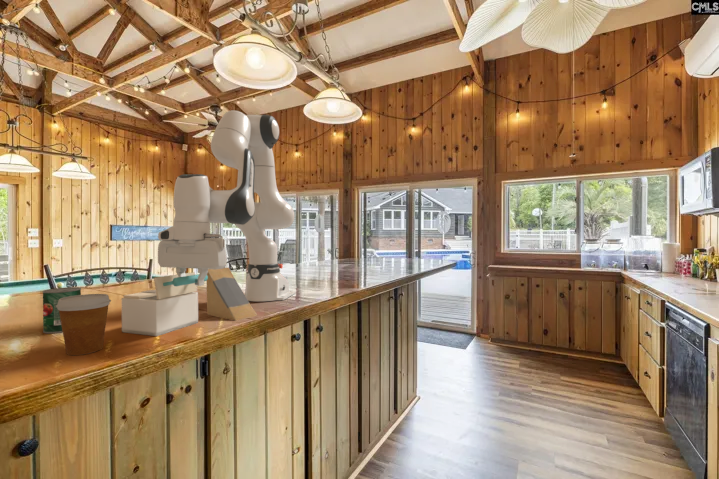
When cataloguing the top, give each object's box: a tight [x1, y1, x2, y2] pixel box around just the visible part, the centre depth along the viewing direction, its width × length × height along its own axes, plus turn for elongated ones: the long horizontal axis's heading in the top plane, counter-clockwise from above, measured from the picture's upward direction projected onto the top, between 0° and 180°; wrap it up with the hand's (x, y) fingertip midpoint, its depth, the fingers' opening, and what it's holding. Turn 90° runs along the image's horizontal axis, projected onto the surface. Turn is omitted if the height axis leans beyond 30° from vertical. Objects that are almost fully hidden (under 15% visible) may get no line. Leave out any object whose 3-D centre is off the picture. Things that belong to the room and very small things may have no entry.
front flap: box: [153, 271, 208, 299], centre depth 92 cm, size 13×6×6 cm
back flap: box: [122, 289, 157, 299], centre depth 95 cm, size 13×6×1 cm, turn 162°
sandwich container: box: [206, 267, 258, 322], centre depth 109 cm, size 9×15×15 cm, turn 57°
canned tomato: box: [42, 286, 82, 334], centre depth 92 cm, size 8×8×11 cm
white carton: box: [121, 291, 199, 337], centre depth 94 cm, size 14×12×9 cm
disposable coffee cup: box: [56, 293, 112, 356], centre depth 75 cm, size 10×10×12 cm
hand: (191, 285), depth 90 cm, fingers open, 4 cm apart
